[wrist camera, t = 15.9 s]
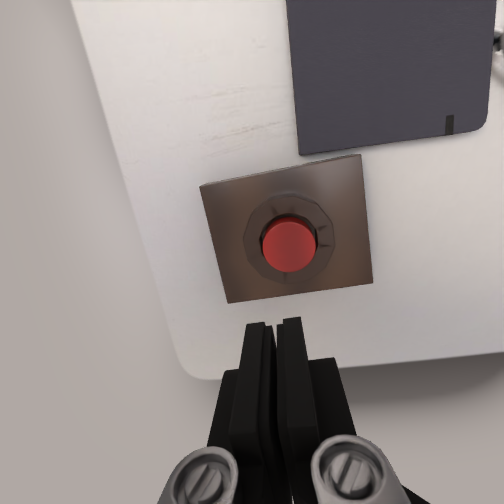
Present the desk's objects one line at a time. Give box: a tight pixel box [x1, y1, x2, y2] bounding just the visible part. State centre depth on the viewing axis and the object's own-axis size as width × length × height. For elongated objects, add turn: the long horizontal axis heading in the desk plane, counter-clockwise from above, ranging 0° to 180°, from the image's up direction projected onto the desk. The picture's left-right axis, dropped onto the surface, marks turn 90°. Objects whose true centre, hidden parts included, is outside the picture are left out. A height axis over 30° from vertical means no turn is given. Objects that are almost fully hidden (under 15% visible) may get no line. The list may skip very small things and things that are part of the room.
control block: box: [199, 154, 373, 304], centre depth 25 cm, size 12×10×4 cm
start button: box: [263, 217, 316, 272], centre depth 22 cm, size 4×4×2 cm
